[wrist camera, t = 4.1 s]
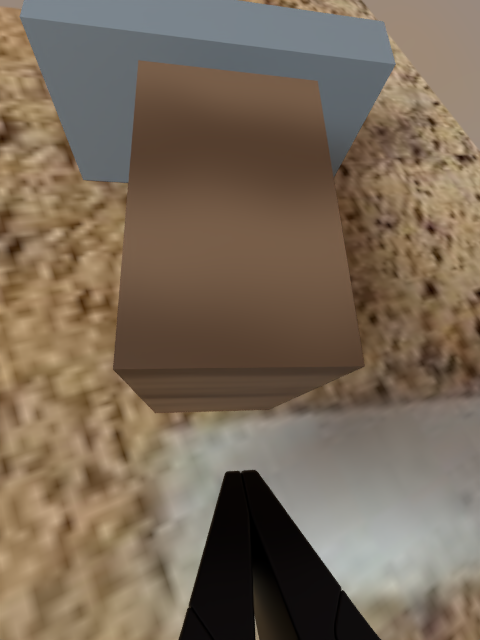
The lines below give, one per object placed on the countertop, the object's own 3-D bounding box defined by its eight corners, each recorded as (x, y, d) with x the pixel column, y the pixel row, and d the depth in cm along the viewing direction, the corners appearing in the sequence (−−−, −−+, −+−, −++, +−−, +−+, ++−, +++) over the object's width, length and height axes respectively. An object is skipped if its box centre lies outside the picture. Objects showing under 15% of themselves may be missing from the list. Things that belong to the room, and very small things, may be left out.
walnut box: (268, 409, 19) (364, 366, 9) (155, 413, 18) (112, 369, 8) (257, 249, 22) (317, 80, 12) (161, 245, 21) (138, 60, 11)
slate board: (324, 195, 24) (395, 64, 16) (83, 179, 22) (19, 16, 14) (318, 161, 25) (383, 21, 17) (88, 143, 23) (31, -30, 15)
